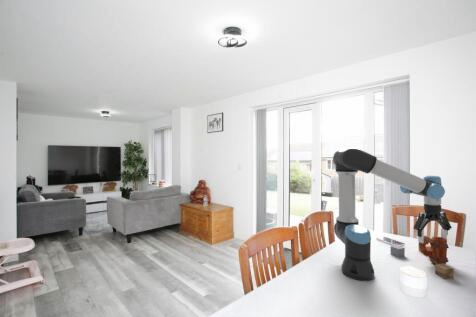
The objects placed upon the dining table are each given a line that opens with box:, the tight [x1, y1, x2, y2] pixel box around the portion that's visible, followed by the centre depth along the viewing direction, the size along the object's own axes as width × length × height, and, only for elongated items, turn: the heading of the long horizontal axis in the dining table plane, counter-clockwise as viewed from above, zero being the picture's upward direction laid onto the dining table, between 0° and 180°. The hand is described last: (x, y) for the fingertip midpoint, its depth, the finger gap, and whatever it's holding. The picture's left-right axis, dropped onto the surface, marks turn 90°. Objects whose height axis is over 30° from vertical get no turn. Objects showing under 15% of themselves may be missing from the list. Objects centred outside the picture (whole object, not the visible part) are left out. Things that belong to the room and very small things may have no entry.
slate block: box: [390, 244, 406, 258], centre depth 143 cm, size 5×5×5 cm
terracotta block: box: [418, 243, 431, 255], centre depth 145 cm, size 5×5×5 cm
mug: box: [418, 235, 450, 265], centre depth 131 cm, size 15×8×15 cm, turn 84°
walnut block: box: [434, 263, 455, 280], centre depth 118 cm, size 5×5×5 cm
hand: (432, 241), depth 131 cm, fingers closed on mug, 13 cm apart
